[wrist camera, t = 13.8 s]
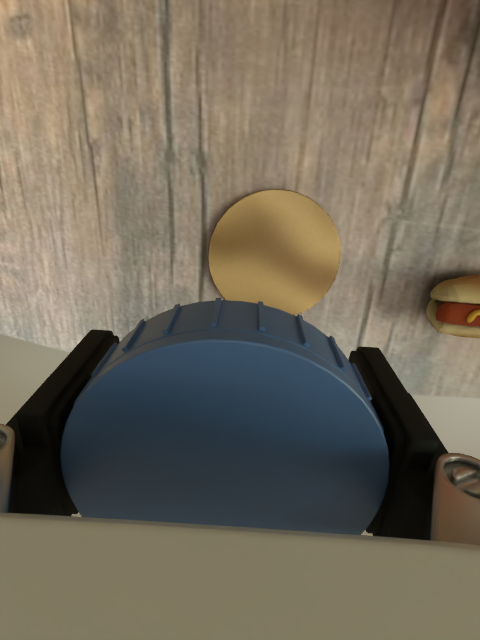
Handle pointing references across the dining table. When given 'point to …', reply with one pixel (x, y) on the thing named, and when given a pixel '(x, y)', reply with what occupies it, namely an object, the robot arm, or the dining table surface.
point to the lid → (227, 426)
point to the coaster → (275, 251)
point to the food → (456, 307)
